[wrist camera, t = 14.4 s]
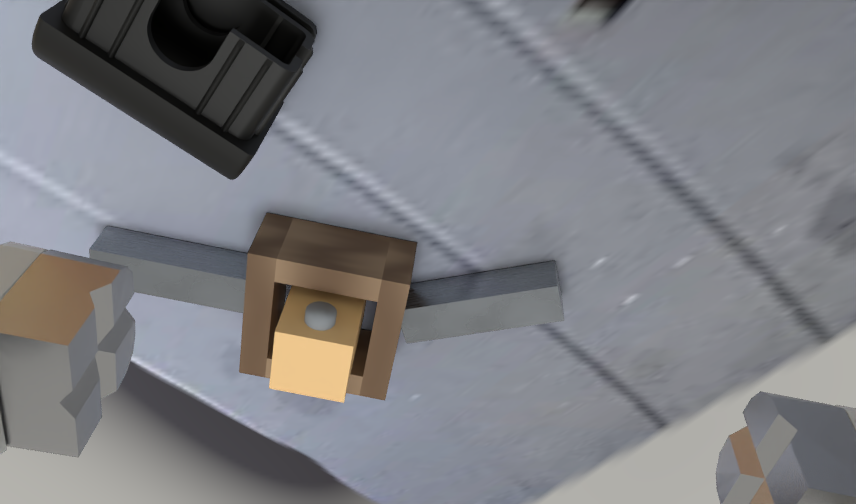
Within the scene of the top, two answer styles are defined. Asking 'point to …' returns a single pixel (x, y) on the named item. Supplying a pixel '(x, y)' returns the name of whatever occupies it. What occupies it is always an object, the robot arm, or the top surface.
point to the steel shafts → (426, 304)
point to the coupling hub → (327, 290)
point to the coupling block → (316, 343)
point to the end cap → (184, 66)
